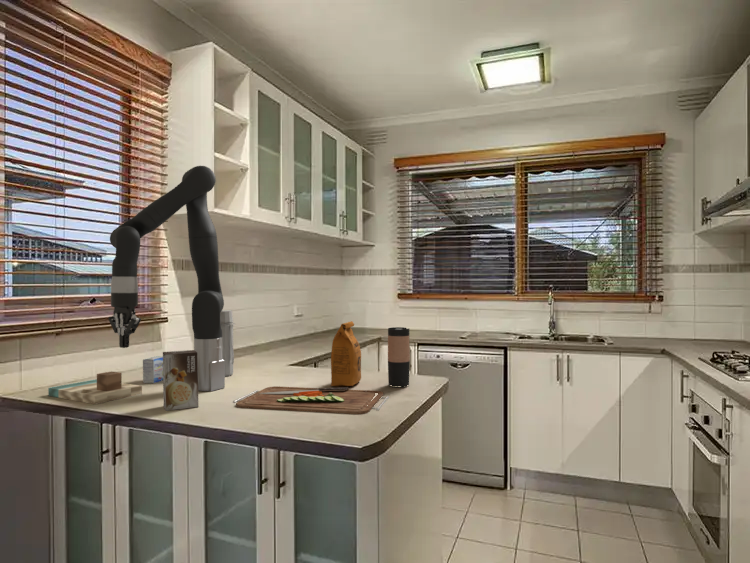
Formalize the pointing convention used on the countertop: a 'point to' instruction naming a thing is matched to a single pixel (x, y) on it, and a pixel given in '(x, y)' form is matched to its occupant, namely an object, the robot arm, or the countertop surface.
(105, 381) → the walnut block
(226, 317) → the water bottle
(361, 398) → the chopping board
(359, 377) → the coffee package
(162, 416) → the countertop surface
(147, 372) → the medicine box
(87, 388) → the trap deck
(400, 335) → the travel mug
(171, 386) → the coffee box
